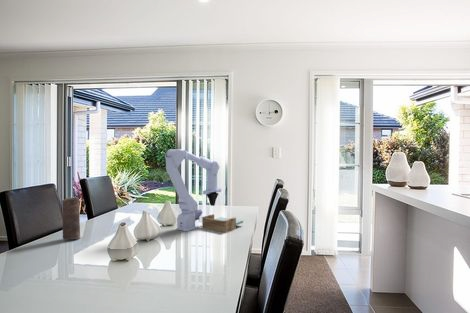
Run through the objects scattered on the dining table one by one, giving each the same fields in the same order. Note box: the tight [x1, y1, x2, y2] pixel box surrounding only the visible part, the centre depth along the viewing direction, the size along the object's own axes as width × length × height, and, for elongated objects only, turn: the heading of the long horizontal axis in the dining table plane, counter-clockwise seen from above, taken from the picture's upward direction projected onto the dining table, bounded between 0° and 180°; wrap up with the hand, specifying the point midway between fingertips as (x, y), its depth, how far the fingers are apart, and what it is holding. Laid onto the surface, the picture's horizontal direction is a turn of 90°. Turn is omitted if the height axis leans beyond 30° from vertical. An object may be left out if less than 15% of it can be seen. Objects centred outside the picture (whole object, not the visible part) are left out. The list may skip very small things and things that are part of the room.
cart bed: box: [201, 214, 237, 233], centre depth 166 cm, size 9×16×6 cm, turn 56°
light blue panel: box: [215, 216, 244, 226], centre depth 173 cm, size 1×16×7 cm
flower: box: [195, 208, 203, 220], centre depth 189 cm, size 9×9×10 cm
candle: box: [61, 197, 81, 241], centre depth 147 cm, size 8×7×20 cm
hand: (212, 205), depth 177 cm, fingers closed
